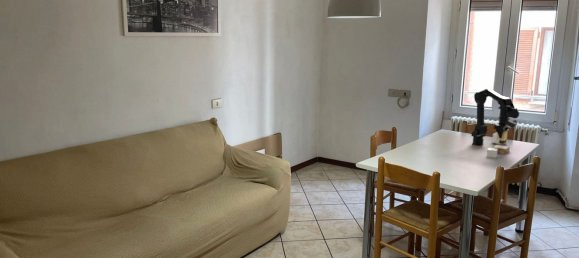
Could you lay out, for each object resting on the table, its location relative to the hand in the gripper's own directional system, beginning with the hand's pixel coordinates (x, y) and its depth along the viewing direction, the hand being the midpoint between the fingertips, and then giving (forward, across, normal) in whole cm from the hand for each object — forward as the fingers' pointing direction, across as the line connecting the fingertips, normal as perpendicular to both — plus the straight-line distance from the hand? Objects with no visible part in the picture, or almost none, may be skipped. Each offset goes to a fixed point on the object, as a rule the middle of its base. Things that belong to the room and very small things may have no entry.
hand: (501, 137), depth 323 cm
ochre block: (+1, 0, 0) cm, 1 cm away
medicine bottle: (+11, +27, +11) cm, 31 cm away
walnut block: (+11, 0, 0) cm, 11 cm away
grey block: (+10, -16, 0) cm, 19 cm away
